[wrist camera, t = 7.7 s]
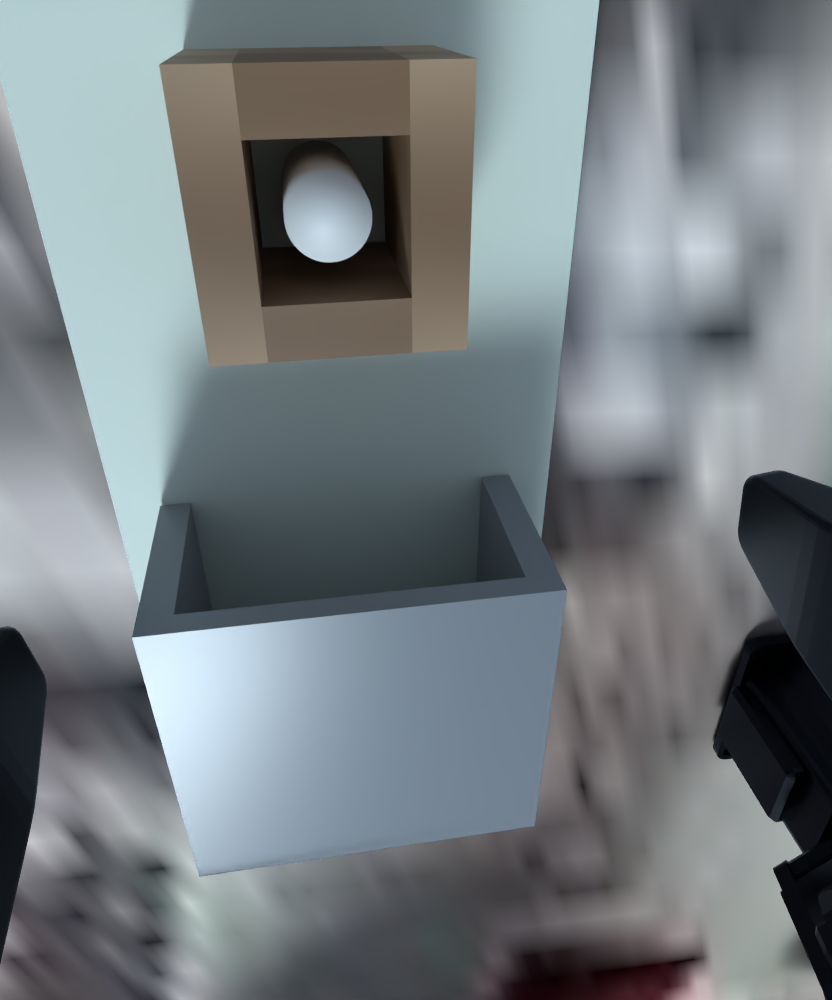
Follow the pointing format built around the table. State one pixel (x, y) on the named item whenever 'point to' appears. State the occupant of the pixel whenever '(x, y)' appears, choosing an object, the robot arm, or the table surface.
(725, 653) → the table surface
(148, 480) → the board
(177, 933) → the table surface
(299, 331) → the block
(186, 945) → the table surface
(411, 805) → the cover
